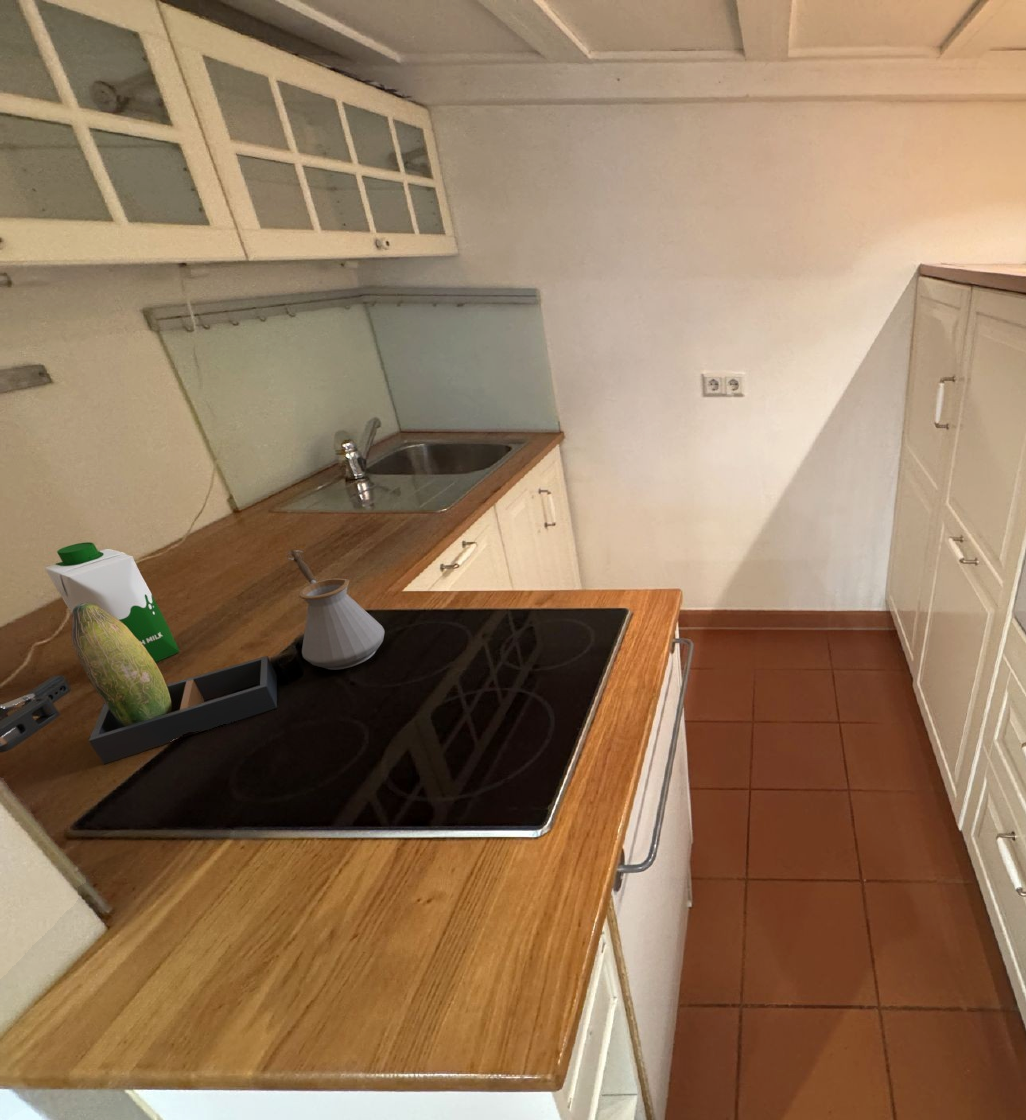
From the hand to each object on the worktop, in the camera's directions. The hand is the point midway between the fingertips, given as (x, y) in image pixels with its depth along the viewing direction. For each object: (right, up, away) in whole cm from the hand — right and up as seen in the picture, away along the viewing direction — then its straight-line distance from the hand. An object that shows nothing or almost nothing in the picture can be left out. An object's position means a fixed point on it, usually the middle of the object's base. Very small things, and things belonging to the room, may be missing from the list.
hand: (20, 686), depth 68 cm
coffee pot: (+12, 0, +35) cm, 37 cm away
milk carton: (-20, -2, +33) cm, 38 cm away
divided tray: (+2, -8, +19) cm, 21 cm away
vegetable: (-1, -10, +17) cm, 20 cm away
